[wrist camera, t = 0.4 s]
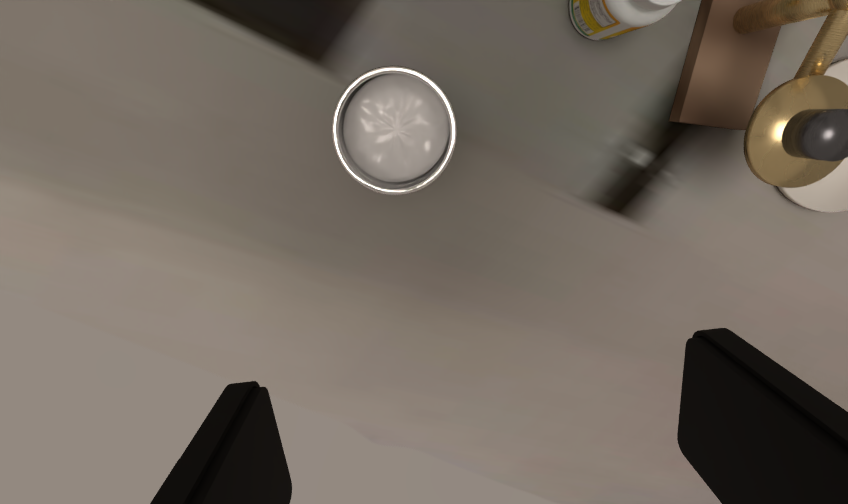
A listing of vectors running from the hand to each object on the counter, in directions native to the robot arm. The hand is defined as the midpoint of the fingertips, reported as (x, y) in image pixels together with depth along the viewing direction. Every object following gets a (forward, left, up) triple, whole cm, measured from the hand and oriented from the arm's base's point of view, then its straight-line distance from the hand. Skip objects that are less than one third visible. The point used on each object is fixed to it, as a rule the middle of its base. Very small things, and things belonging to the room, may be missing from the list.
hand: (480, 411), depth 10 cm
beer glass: (-5, -3, -31) cm, 31 cm away
